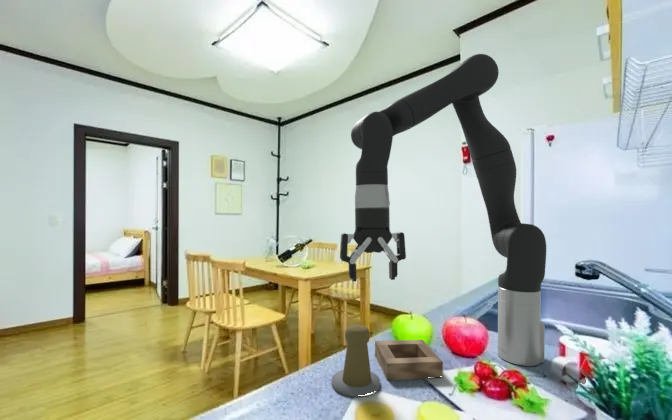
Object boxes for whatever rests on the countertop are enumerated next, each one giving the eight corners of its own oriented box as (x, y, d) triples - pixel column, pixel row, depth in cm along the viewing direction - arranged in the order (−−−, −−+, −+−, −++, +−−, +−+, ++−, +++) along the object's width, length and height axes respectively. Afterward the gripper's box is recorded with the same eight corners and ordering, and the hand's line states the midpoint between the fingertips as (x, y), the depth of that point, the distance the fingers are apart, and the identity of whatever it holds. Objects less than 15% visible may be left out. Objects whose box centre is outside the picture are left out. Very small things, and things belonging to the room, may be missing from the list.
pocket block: (422, 353, 83) (422, 339, 83) (442, 377, 71) (442, 361, 71) (375, 355, 82) (375, 341, 82) (387, 380, 70) (387, 363, 70)
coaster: (374, 371, 74) (374, 367, 74) (385, 395, 64) (385, 391, 64) (329, 372, 73) (329, 369, 73) (333, 398, 63) (333, 393, 63)
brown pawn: (370, 372, 71) (371, 322, 71) (372, 387, 65) (372, 332, 65) (342, 371, 71) (343, 321, 72) (341, 386, 65) (342, 331, 66)
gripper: (398, 206, 77) (399, 275, 77) (337, 206, 75) (338, 277, 75) (409, 205, 69) (410, 282, 69) (342, 206, 68) (343, 285, 68)
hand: (373, 279), depth 72 cm, fingers open, 8 cm apart
